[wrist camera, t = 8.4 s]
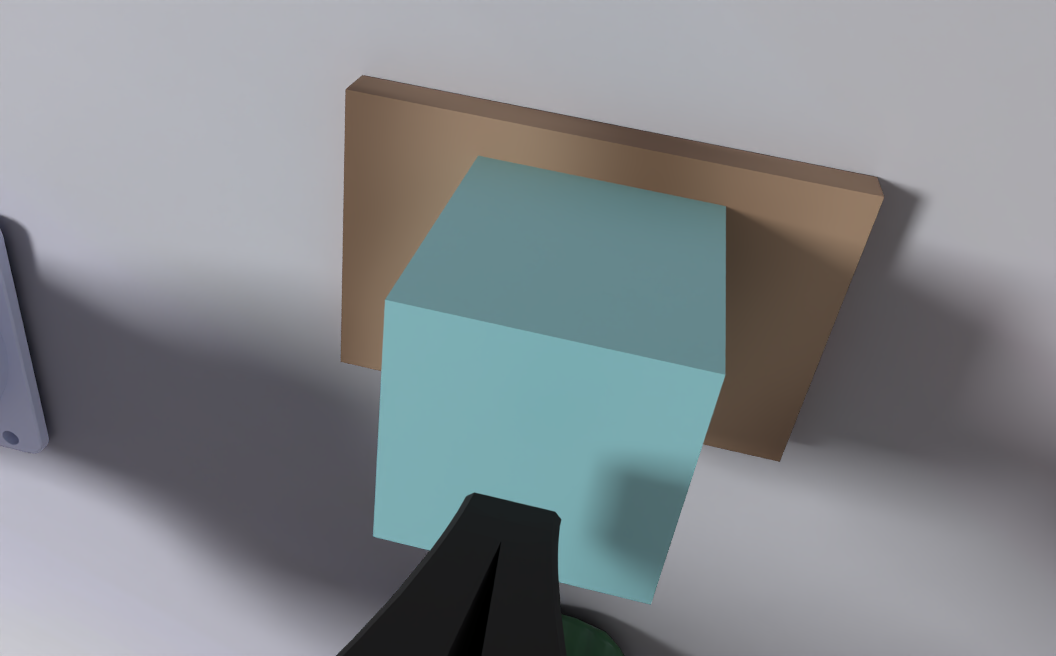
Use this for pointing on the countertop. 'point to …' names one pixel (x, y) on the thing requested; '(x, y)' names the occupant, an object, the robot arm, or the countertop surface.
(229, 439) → the countertop surface
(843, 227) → the brown rectangular board
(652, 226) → the teal matte cube
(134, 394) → the countertop surface
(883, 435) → the countertop surface
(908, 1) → the countertop surface
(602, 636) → the coffee jar
